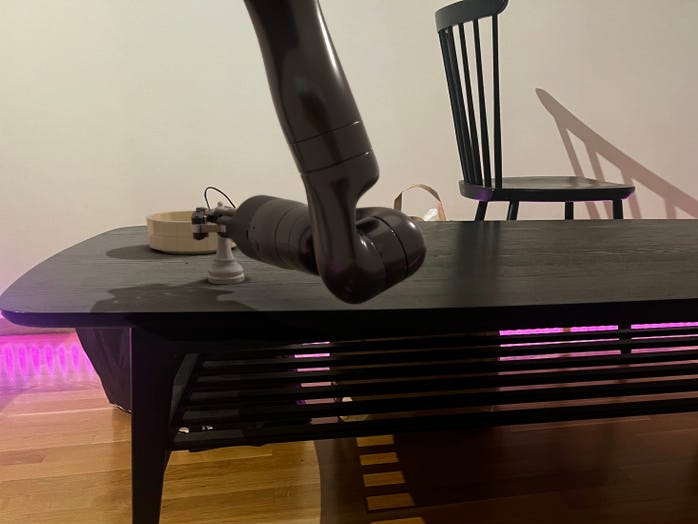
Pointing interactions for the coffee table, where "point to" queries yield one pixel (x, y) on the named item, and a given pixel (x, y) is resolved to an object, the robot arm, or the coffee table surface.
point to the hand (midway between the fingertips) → (210, 215)
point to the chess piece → (224, 263)
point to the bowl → (178, 234)
